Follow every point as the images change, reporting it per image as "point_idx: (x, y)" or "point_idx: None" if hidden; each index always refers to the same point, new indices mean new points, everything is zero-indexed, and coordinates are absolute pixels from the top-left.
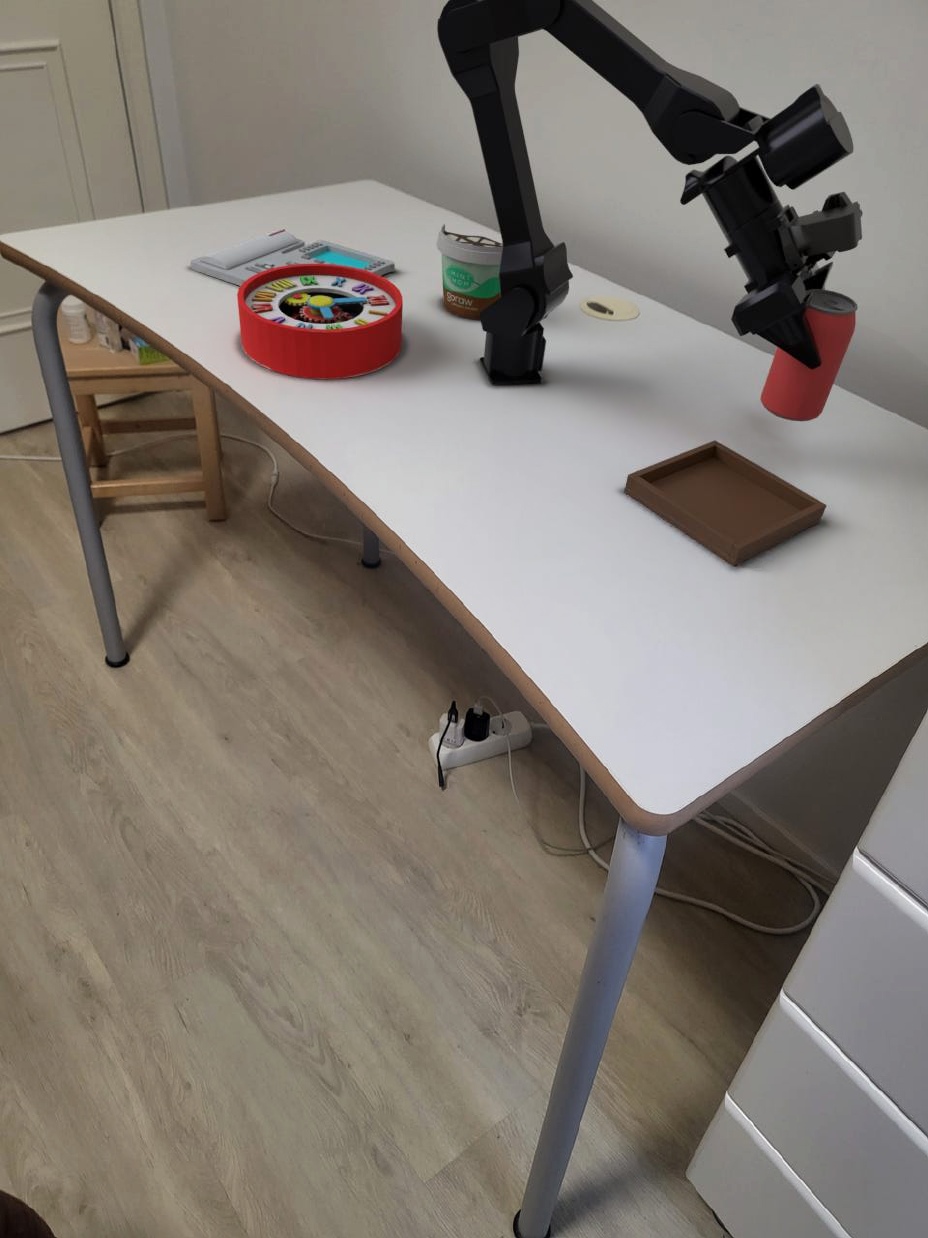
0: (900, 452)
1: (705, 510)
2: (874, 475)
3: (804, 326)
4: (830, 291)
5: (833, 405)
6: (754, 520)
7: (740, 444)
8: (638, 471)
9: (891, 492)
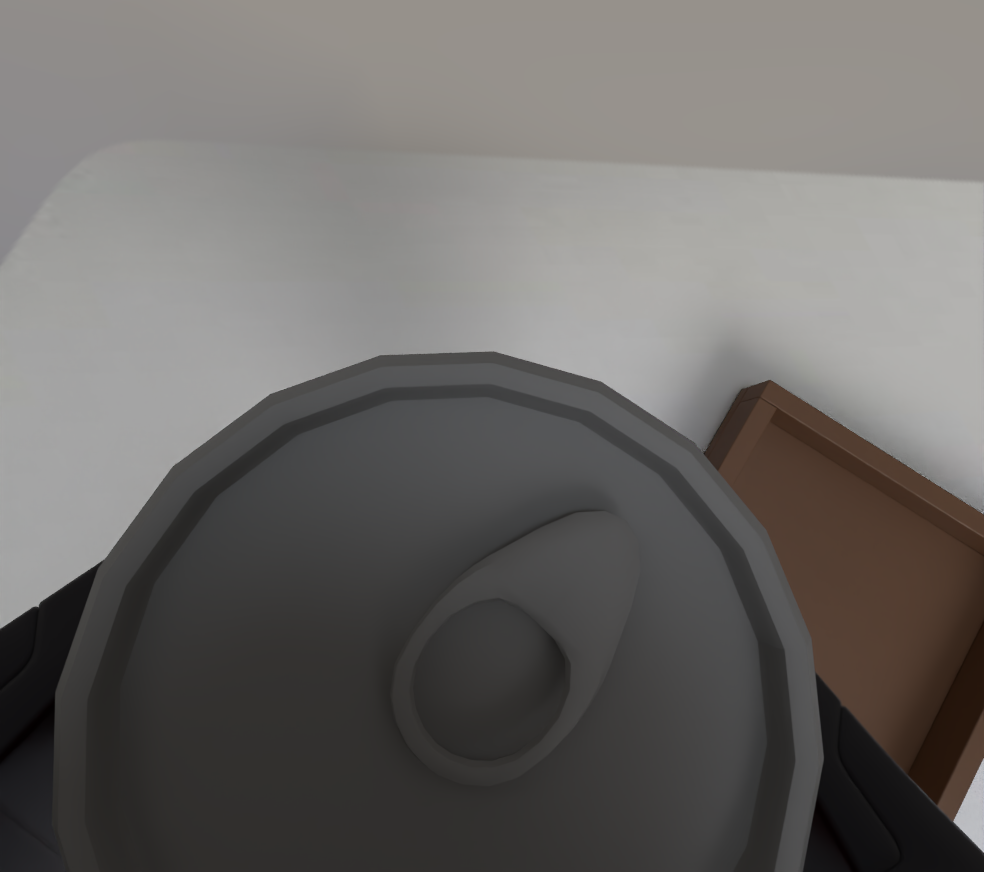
0: (271, 191)
1: (865, 669)
2: (440, 261)
3: (964, 839)
4: (88, 743)
5: (44, 381)
6: (846, 544)
7: None
8: None
9: (508, 221)
